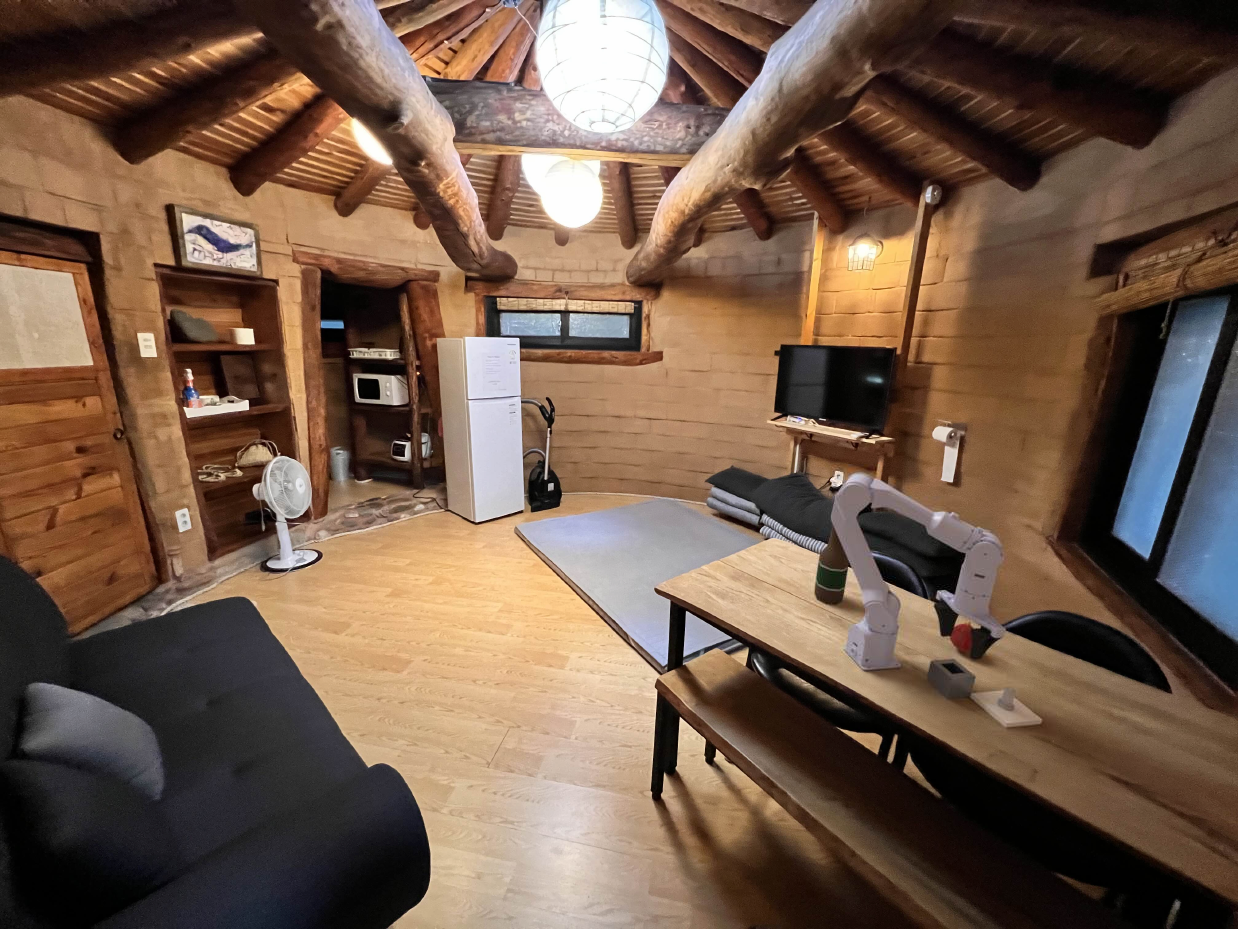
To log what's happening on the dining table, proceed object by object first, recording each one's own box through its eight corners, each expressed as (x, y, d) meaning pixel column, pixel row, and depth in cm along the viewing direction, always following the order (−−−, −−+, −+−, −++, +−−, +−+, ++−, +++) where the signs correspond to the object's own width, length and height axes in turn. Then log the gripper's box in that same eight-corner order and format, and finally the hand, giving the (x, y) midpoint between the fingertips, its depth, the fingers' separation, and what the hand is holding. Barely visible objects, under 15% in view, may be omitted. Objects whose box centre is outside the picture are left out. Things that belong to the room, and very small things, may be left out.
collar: (946, 698, 98) (951, 678, 97) (926, 680, 104) (930, 660, 102) (970, 696, 99) (975, 676, 98) (949, 678, 104) (953, 658, 103)
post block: (1005, 727, 91) (1011, 706, 90) (970, 697, 99) (975, 677, 98) (1041, 723, 92) (1047, 702, 91) (1003, 694, 100) (1009, 674, 99)
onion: (981, 660, 110) (988, 630, 108) (953, 657, 112) (960, 627, 109) (968, 645, 116) (975, 616, 114) (942, 642, 117) (949, 613, 115)
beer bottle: (844, 596, 137) (857, 519, 131) (840, 608, 131) (853, 528, 125) (816, 588, 141) (827, 513, 135) (811, 600, 135) (822, 521, 129)
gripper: (1025, 607, 90) (1008, 668, 94) (961, 571, 104) (948, 625, 108) (993, 610, 89) (977, 671, 93) (933, 573, 103) (921, 627, 107)
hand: (960, 646), depth 100 cm, fingers open, 7 cm apart
